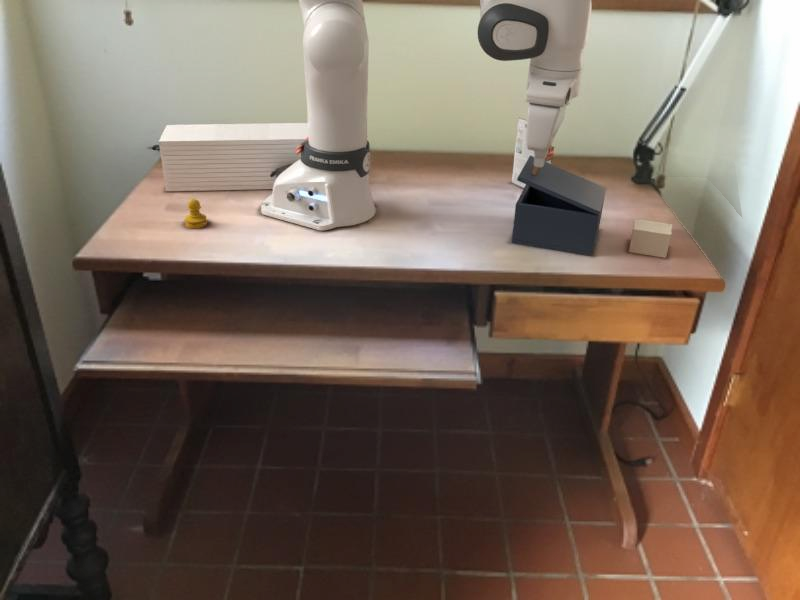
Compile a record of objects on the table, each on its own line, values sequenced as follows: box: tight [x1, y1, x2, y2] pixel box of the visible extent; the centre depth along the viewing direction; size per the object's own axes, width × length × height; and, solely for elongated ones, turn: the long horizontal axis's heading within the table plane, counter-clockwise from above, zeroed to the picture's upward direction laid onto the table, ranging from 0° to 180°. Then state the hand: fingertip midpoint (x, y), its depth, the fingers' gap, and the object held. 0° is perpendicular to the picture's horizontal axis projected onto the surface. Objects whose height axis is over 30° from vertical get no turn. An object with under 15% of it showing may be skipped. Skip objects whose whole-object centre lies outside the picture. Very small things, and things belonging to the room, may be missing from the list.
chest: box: [511, 184, 606, 257], centre depth 139 cm, size 15×12×8 cm
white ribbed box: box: [158, 122, 308, 192], centre depth 159 cm, size 32×11×11 cm, turn 96°
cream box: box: [628, 218, 673, 259], centre depth 136 cm, size 6×5×5 cm
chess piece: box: [184, 198, 208, 229], centre depth 141 cm, size 4×4×5 cm
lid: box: [517, 150, 607, 215], centre depth 135 cm, size 15×12×5 cm
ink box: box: [511, 117, 555, 189], centre depth 158 cm, size 4×8×15 cm, turn 39°
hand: (541, 160), depth 135 cm, fingers closed on lid, 5 cm apart
